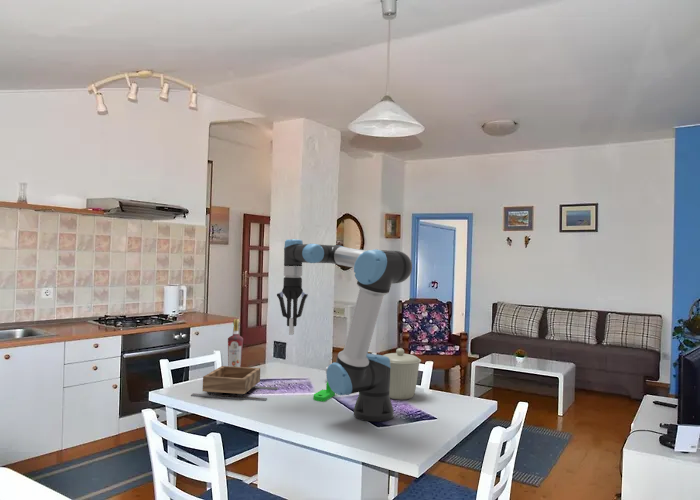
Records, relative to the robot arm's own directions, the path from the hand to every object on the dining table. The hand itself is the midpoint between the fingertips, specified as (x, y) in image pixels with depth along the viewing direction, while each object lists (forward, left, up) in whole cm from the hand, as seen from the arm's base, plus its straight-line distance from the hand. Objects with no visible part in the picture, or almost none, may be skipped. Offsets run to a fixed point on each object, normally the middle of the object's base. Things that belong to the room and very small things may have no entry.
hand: (291, 334), depth 214 cm
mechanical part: (+9, -13, -28) cm, 32 cm away
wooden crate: (+9, +27, -28) cm, 40 cm away
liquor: (+34, +35, -28) cm, 57 cm away
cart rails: (+9, +25, -28) cm, 39 cm away
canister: (+18, -45, -28) cm, 55 cm away
